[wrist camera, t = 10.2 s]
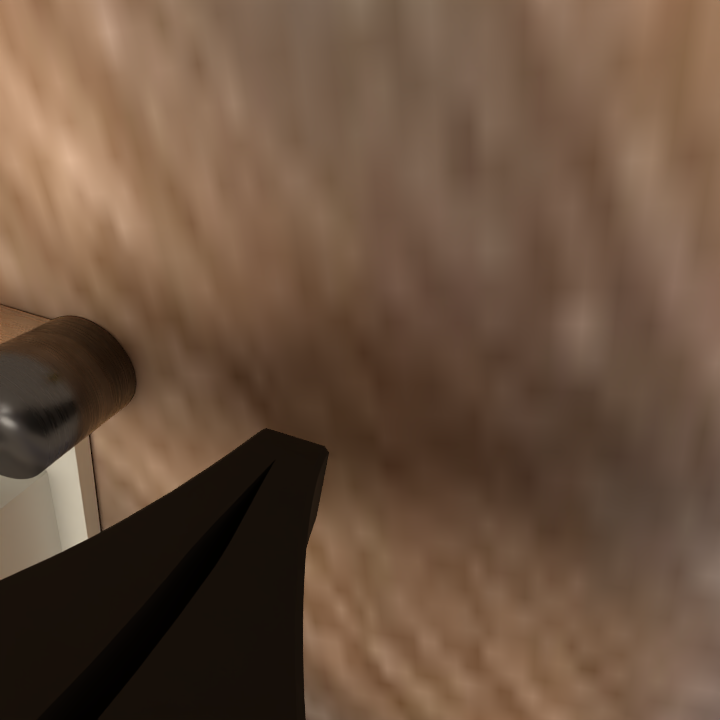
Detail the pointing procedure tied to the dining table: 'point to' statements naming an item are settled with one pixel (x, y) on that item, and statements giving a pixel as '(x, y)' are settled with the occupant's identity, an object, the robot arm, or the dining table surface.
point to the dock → (47, 511)
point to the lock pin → (55, 387)
